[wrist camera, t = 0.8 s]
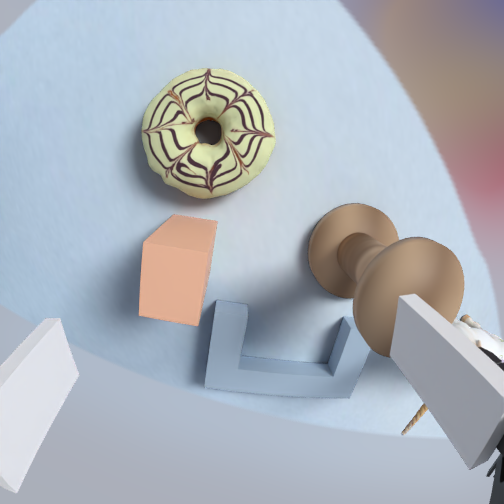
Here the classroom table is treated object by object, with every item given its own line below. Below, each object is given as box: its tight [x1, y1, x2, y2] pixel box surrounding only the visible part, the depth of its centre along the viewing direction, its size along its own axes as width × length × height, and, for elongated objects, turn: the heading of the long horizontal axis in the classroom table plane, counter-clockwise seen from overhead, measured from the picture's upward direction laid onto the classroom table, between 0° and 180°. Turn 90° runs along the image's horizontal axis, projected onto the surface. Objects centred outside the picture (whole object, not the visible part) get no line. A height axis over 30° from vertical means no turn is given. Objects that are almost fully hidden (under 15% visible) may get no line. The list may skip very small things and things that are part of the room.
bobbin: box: [308, 203, 464, 358], centre depth 24 cm, size 9×9×12 cm
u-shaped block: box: [204, 300, 371, 398], centre depth 31 cm, size 16×9×2 cm, turn 80°
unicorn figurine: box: [401, 315, 504, 435], centre depth 26 cm, size 7×20×13 cm, turn 85°
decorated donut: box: [141, 68, 275, 199], centre depth 25 cm, size 10×11×4 cm
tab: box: [139, 214, 218, 326], centre depth 24 cm, size 4×5×10 cm
